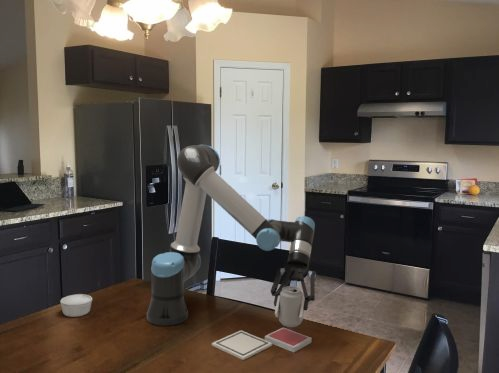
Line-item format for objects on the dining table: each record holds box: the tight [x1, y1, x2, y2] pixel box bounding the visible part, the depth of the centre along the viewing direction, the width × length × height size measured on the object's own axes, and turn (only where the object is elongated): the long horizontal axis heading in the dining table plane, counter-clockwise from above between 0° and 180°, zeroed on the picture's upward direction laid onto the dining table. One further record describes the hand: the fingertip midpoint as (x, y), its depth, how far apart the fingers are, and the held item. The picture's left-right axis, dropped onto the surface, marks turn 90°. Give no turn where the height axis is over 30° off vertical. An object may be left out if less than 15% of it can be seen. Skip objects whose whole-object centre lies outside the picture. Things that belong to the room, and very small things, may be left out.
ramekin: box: [59, 293, 93, 318], centre depth 174 cm, size 11×11×5 cm
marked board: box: [211, 330, 273, 361], centre depth 150 cm, size 14×14×1 cm
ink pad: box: [264, 326, 312, 353], centre depth 154 cm, size 12×10×2 cm
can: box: [278, 285, 304, 328], centre depth 153 cm, size 8×8×12 cm
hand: (288, 316), depth 150 cm, fingers closed on can, 7 cm apart
